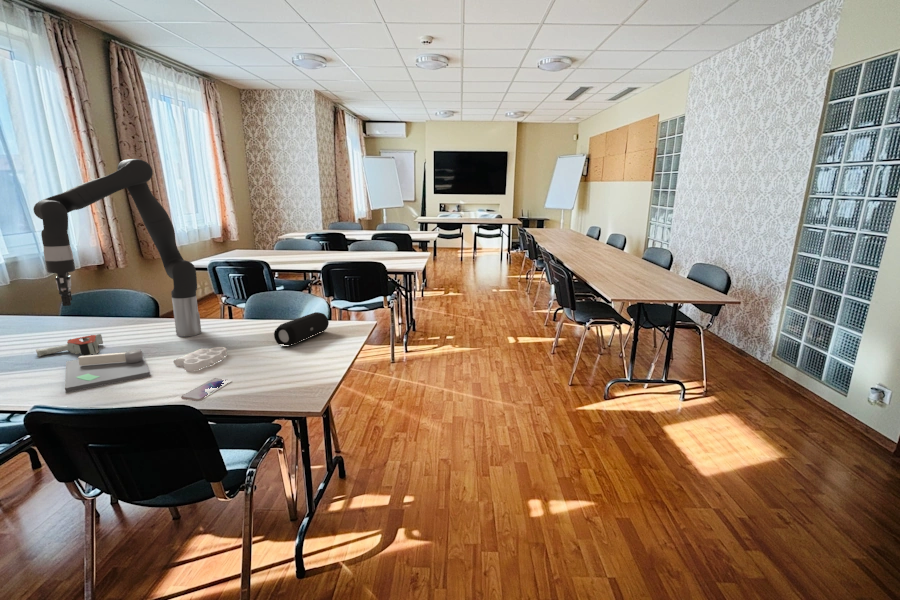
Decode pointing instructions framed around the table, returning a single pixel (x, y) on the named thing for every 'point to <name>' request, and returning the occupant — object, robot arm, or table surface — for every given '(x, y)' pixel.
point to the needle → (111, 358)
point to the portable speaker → (301, 328)
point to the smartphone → (202, 389)
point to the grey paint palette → (201, 358)
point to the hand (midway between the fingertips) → (67, 303)
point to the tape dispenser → (76, 346)
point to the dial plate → (102, 374)
